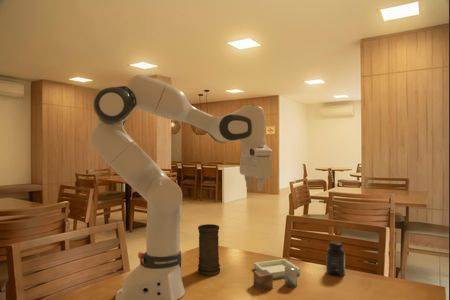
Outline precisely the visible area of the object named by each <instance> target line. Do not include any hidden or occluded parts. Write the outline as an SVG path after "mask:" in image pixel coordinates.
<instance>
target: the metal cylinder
mask: <svg viewBox="0 0 450 300" xmlns="http://www.w3.org/2000/svg"><path fill="white" fill-rule="evenodd" d="M296 267H297V266H296ZM296 267H293V266H287V267H285V277H284V287H286V288H290V289H291V288H293V289H294V288H297V287H298V275H297V268H296Z"/></svg>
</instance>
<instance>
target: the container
mask: <svg viewBox="0 0 450 300" xmlns="http://www.w3.org/2000/svg"><path fill="white" fill-rule="evenodd" d="M197 229H198V264H197V274H198V275H202V276H204V277H205V276H207V277H211V276H217V275H219V274H220V272H221V267H220V266H221V265H220V257H219V230H220V226H219V225H217V224H211V223H208V224H201V225H199V226H198V227H197Z"/></svg>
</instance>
